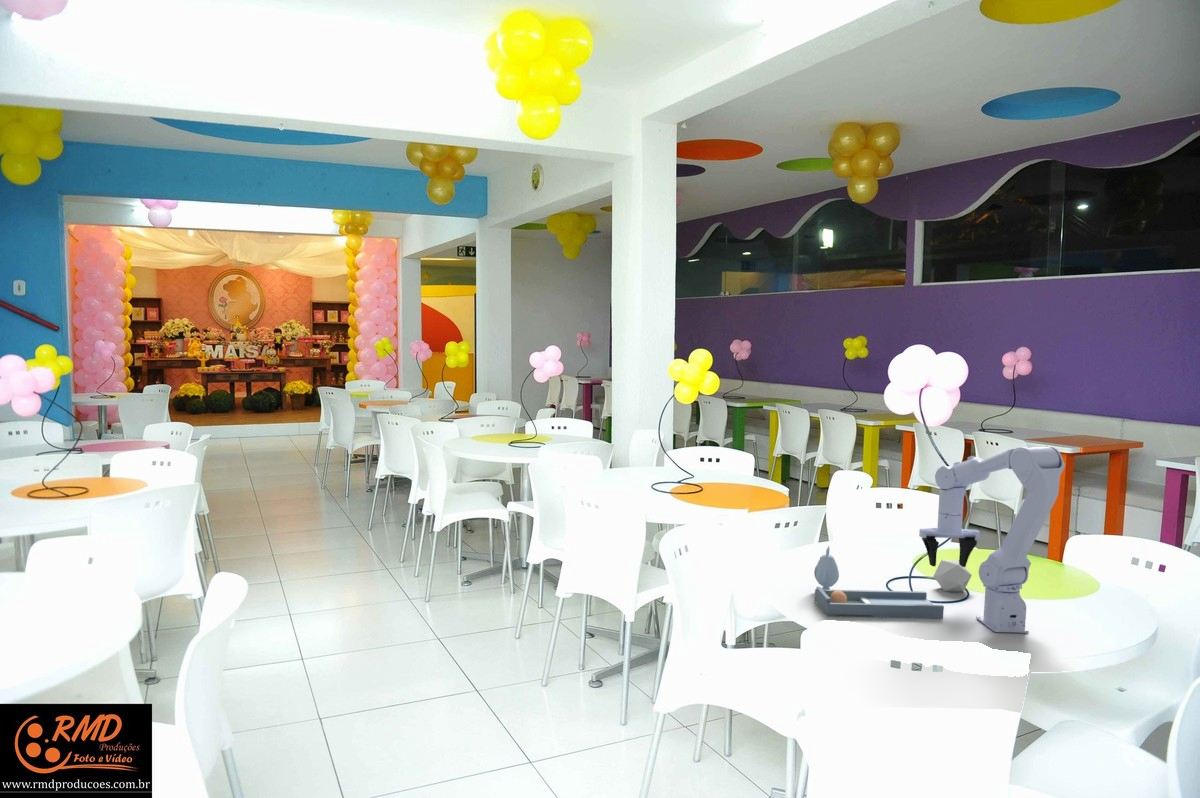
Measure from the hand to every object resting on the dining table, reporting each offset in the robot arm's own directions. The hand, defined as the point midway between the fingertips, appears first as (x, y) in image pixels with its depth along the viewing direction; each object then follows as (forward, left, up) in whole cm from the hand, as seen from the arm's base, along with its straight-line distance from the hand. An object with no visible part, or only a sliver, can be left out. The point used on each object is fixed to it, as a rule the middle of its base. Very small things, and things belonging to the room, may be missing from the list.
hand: (947, 565), depth 205 cm
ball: (-7, +30, -7) cm, 31 cm away
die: (+10, -6, -10) cm, 15 cm away
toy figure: (+6, +29, -10) cm, 31 cm away
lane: (-7, +20, -9) cm, 23 cm away
